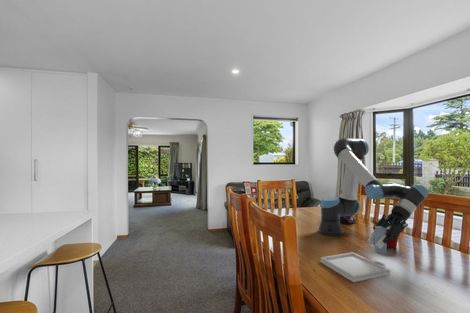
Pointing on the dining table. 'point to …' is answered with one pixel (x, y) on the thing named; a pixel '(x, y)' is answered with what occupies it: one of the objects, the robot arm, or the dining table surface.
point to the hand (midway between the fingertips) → (373, 244)
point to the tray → (355, 266)
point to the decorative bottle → (347, 218)
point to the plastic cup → (392, 241)
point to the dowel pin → (378, 235)
